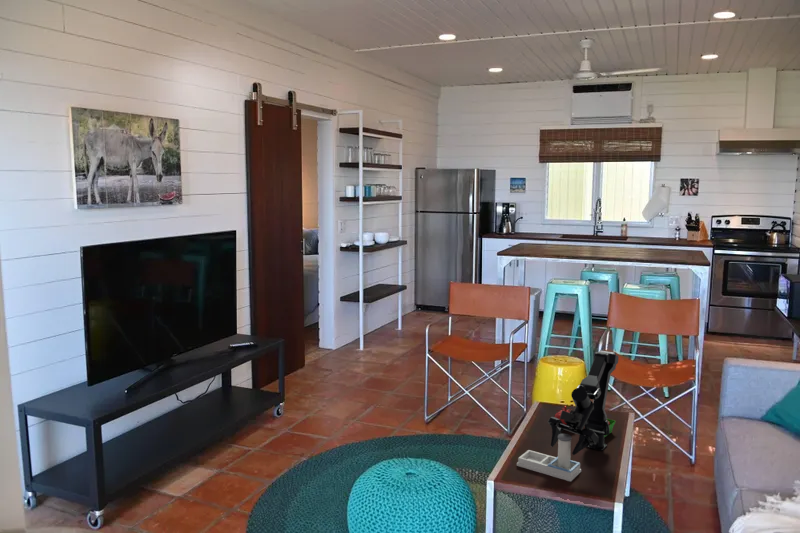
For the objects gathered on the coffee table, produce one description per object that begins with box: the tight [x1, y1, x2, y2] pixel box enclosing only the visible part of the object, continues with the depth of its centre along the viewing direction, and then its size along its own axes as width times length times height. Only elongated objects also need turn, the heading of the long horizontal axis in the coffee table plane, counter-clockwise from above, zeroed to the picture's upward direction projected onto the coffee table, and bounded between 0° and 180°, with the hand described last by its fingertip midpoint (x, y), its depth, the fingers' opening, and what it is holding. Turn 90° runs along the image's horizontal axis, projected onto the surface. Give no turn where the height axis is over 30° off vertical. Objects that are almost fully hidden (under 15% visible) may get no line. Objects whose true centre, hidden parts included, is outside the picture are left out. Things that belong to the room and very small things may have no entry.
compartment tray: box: [516, 449, 582, 482], centre depth 234 cm, size 10×21×4 cm, turn 53°
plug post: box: [557, 433, 573, 470], centre depth 230 cm, size 5×5×13 cm
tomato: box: [554, 405, 573, 424], centre depth 273 cm, size 10×10×9 cm
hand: (562, 450), depth 229 cm, fingers open, 9 cm apart
